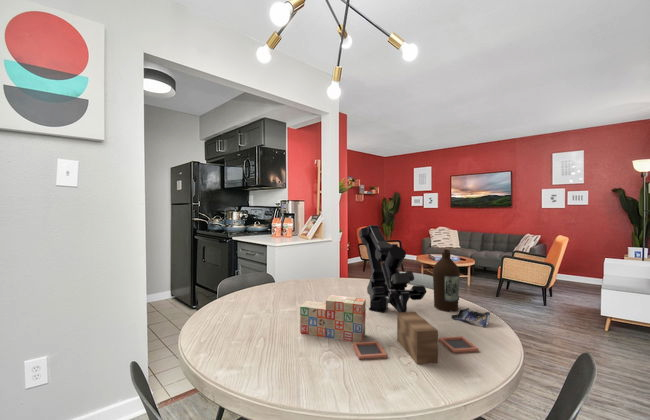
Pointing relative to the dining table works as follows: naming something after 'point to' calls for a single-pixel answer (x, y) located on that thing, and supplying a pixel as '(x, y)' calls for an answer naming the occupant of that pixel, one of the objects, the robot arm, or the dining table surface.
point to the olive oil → (446, 283)
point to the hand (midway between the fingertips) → (404, 317)
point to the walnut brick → (417, 337)
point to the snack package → (473, 317)
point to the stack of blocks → (334, 318)
